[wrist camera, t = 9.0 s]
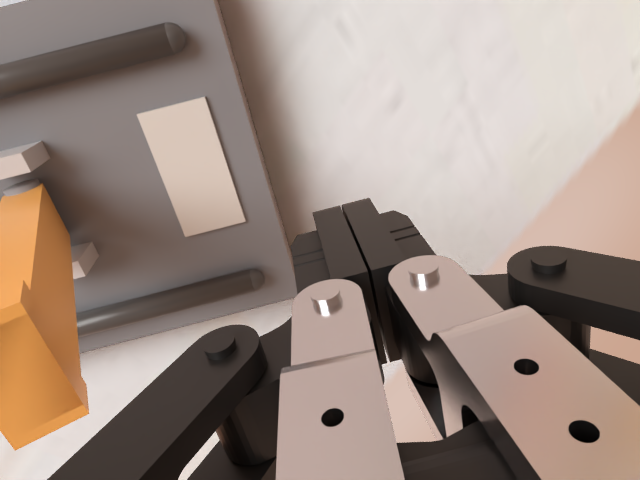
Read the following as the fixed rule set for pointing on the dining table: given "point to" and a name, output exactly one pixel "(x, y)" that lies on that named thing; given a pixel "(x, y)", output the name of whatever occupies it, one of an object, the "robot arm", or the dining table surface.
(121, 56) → the breaker panel
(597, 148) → the dining table surface
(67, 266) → the breaker lever
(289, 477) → the robot arm
